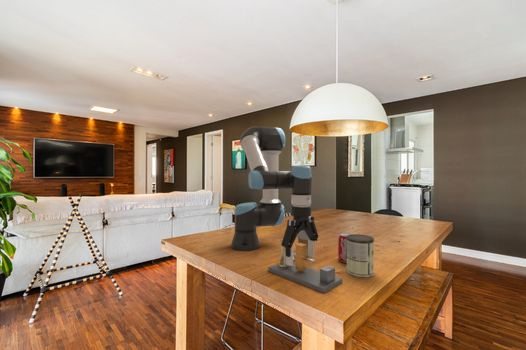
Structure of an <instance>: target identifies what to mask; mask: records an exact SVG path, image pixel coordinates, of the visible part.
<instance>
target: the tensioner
mask: <svg viewBox="0 0 526 350" xmlns="http://www.w3.org/2000/svg"><path fill="white" fill-rule="evenodd" d="M319 271H320V282H322V283H324V284H329V283H331V282H333V281H335V276H336V267H334V266H330V265H325V266H324V267H321V268H319Z"/></svg>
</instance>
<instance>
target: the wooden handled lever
mask: <svg viewBox="0 0 526 350" xmlns="http://www.w3.org/2000/svg"><path fill="white" fill-rule="evenodd" d="M306 253H307V245H306V244H302V243H299V244H298V243H296V244H295V250H293V258H295V262H293V264H294V263H295V270H298V271H301V272H302V271H304V270H306V267H307V262H310V263H311V262H312V263H316V259H313V258H311V257H306ZM288 266H290V265H287V264H286V253H284V267H288Z"/></svg>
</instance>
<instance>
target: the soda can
mask: <svg viewBox="0 0 526 350" xmlns="http://www.w3.org/2000/svg"><path fill="white" fill-rule="evenodd" d="M347 235H352V234H351V233H348V232H342V233H339V236H338V240H337V257H338V260H339V261H340V262H342V263H345V264H347V238H346V236H347Z"/></svg>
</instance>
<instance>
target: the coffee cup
mask: <svg viewBox="0 0 526 350" xmlns="http://www.w3.org/2000/svg"><path fill="white" fill-rule="evenodd" d="M297 240H298V241H297V242H298V243H297V244H299V243H302V244H306V245H307V253H306V257H307V258H309V256H308V240H310V239H309V237H308V236H307V234H306V232H305V230H302V231H300V232H299V233H298V235H297Z"/></svg>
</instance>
